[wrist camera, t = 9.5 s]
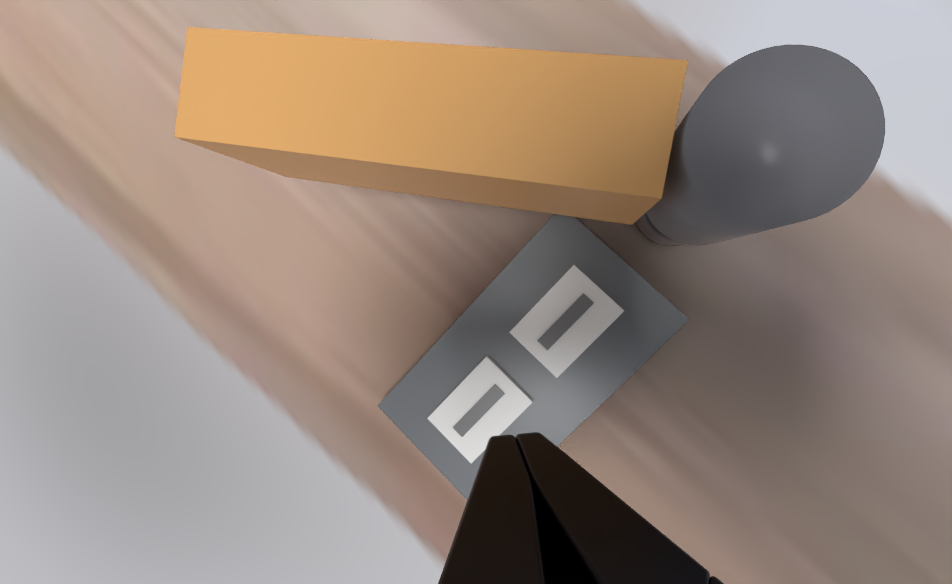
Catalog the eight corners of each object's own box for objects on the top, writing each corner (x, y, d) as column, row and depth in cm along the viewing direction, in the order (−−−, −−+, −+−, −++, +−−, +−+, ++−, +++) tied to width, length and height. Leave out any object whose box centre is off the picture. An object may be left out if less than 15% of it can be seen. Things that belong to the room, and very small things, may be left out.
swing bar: (769, 143, 14) (903, 50, 9) (746, 253, 15) (862, 236, 9) (308, 98, 18) (179, 9, 12) (295, 188, 18) (163, 144, 12)
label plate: (562, 209, 20) (561, 204, 19) (683, 317, 19) (691, 320, 18) (385, 400, 22) (374, 408, 21) (487, 506, 21) (481, 521, 20)
